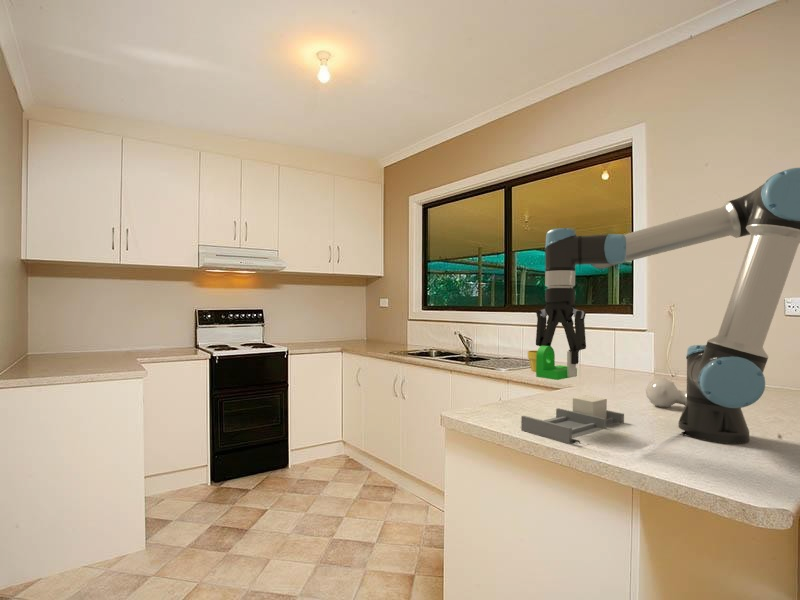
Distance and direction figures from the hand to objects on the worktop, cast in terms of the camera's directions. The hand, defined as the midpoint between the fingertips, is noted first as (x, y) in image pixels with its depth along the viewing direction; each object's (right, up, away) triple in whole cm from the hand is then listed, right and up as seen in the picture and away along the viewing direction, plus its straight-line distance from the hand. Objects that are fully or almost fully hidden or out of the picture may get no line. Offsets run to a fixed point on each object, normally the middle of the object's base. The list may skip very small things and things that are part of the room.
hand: (559, 374), depth 120 cm
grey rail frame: (+4, -15, +1) cm, 15 cm away
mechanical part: (0, -1, 0) cm, 1 cm away
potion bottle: (+47, -16, +28) cm, 57 cm away
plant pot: (+26, -16, +106) cm, 110 cm away
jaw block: (+10, -14, +6) cm, 18 cm away
